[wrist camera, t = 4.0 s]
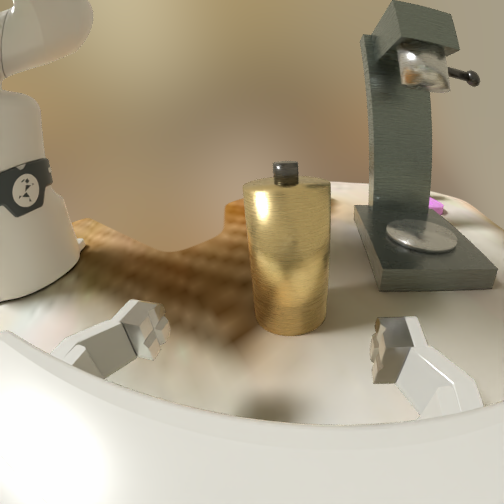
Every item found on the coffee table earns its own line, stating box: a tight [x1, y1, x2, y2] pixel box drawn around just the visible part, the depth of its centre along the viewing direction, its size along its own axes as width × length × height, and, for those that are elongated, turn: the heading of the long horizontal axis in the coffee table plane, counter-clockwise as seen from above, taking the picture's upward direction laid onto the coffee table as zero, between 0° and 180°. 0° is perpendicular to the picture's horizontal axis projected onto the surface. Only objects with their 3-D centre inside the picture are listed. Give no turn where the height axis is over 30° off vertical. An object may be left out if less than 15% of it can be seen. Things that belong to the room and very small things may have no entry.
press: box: [354, 0, 498, 291], centre depth 20 cm, size 18×20×25 cm
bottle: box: [243, 161, 331, 336], centre depth 17 cm, size 5×5×10 cm
